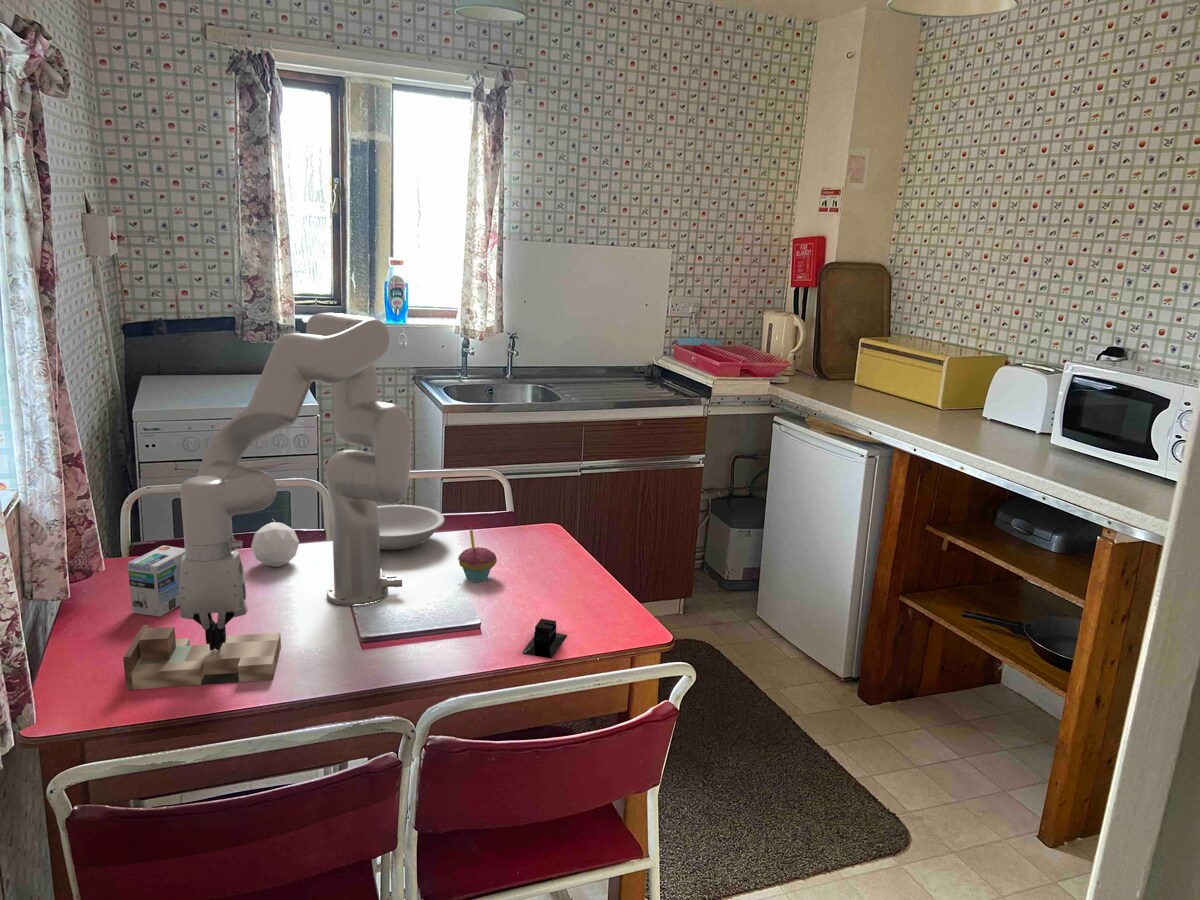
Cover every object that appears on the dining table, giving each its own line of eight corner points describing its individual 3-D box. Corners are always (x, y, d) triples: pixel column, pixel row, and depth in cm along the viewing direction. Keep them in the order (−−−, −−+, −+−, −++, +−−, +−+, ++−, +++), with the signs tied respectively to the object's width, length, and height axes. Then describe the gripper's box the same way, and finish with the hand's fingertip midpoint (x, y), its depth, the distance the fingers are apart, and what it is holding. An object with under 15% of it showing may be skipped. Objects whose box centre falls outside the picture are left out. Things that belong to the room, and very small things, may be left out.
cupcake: (451, 581, 195) (451, 530, 192) (470, 568, 202) (471, 519, 199) (484, 588, 192) (485, 537, 189) (503, 575, 199) (504, 525, 196)
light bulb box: (160, 618, 171) (156, 566, 168) (130, 613, 172) (125, 562, 169) (195, 596, 181) (192, 547, 178) (167, 592, 182) (162, 544, 180)
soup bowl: (417, 522, 232) (416, 499, 230) (462, 550, 214) (462, 524, 212) (329, 539, 217) (328, 513, 216) (370, 569, 199) (369, 542, 197)
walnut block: (176, 647, 153) (174, 626, 152) (169, 659, 149) (167, 638, 148) (148, 649, 152) (146, 628, 151) (140, 661, 148) (138, 639, 147)
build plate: (553, 665, 160) (554, 641, 159) (513, 659, 162) (514, 635, 161) (573, 635, 173) (574, 612, 172) (536, 629, 174) (536, 606, 173)
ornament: (252, 574, 193) (252, 554, 206) (301, 569, 196) (298, 550, 210) (249, 531, 191) (250, 514, 204) (299, 527, 194) (296, 511, 208)
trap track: (281, 647, 161) (279, 617, 160) (272, 679, 150) (271, 647, 148) (145, 656, 156) (142, 625, 154) (126, 690, 144) (123, 657, 143)
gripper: (259, 539, 153) (264, 634, 158) (167, 542, 150) (175, 639, 154) (252, 554, 146) (258, 654, 150) (155, 558, 143) (164, 659, 147)
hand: (216, 646), depth 152 cm, fingers closed
